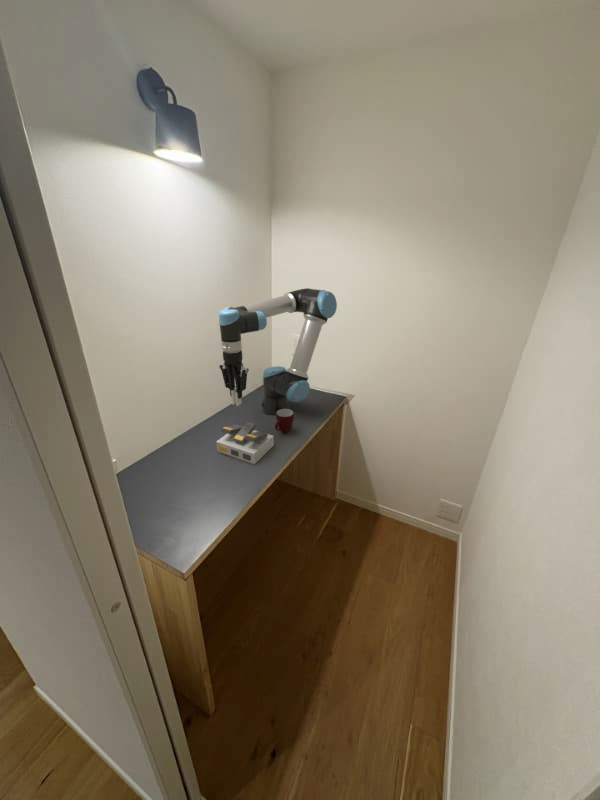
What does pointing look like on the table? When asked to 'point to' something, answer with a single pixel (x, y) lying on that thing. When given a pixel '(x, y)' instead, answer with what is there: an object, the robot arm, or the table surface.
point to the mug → (284, 420)
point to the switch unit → (245, 447)
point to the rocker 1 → (231, 429)
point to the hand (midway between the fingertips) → (237, 403)
